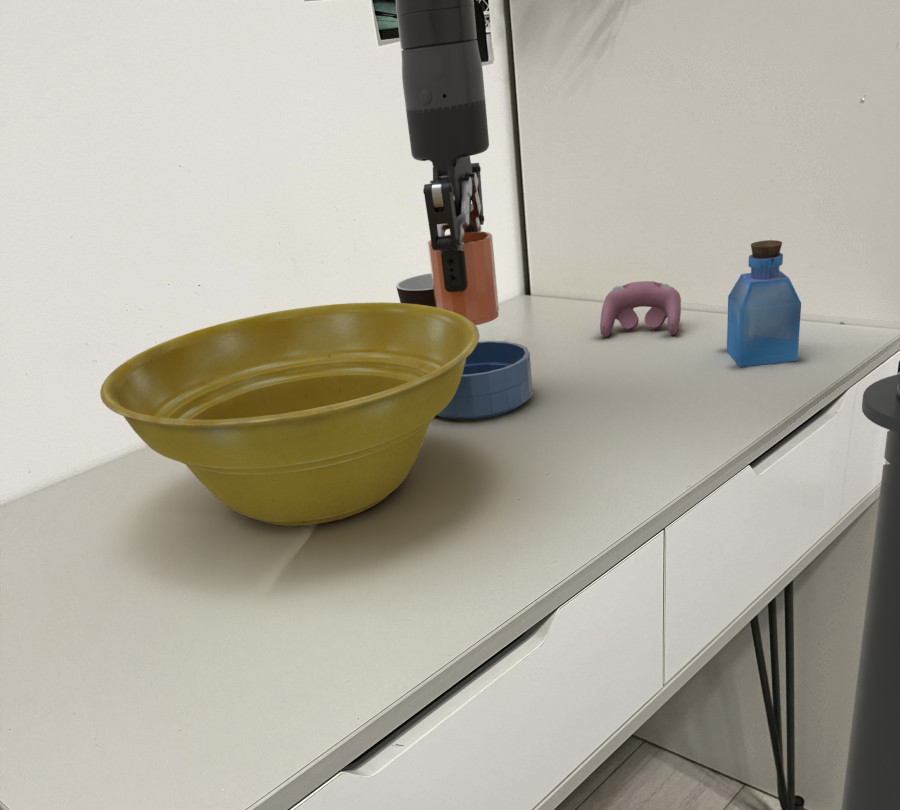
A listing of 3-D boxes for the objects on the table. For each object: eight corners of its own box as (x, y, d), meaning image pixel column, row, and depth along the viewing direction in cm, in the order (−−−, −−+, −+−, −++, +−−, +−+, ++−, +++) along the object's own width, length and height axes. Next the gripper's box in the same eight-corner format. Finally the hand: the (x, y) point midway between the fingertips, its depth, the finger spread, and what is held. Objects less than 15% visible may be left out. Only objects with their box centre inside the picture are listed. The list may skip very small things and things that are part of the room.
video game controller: (681, 340, 120) (684, 282, 119) (678, 333, 115) (681, 274, 115) (603, 342, 123) (605, 286, 122) (597, 336, 118) (599, 278, 118)
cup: (503, 308, 101) (496, 229, 97) (492, 325, 96) (484, 242, 92) (446, 311, 103) (436, 234, 99) (431, 328, 98) (420, 247, 94)
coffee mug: (466, 348, 123) (457, 268, 118) (485, 365, 115) (476, 281, 110) (378, 365, 121) (365, 285, 116) (392, 384, 114) (379, 299, 108)
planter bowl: (568, 472, 85) (558, 322, 78) (263, 626, 69) (217, 452, 62) (358, 408, 107) (336, 287, 101) (88, 512, 91) (41, 375, 84)
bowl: (540, 382, 108) (537, 338, 105) (522, 421, 98) (518, 373, 95) (438, 386, 111) (432, 343, 108) (411, 424, 101) (404, 378, 98)
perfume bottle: (781, 344, 109) (788, 234, 103) (797, 360, 103) (805, 245, 97) (726, 350, 109) (729, 241, 103) (739, 367, 104) (743, 253, 98)
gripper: (467, 102, 82) (486, 298, 91) (498, 89, 94) (512, 263, 103) (385, 112, 84) (411, 303, 93) (426, 98, 96) (445, 268, 105)
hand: (464, 281), depth 98 cm, fingers closed on cup, 6 cm apart
